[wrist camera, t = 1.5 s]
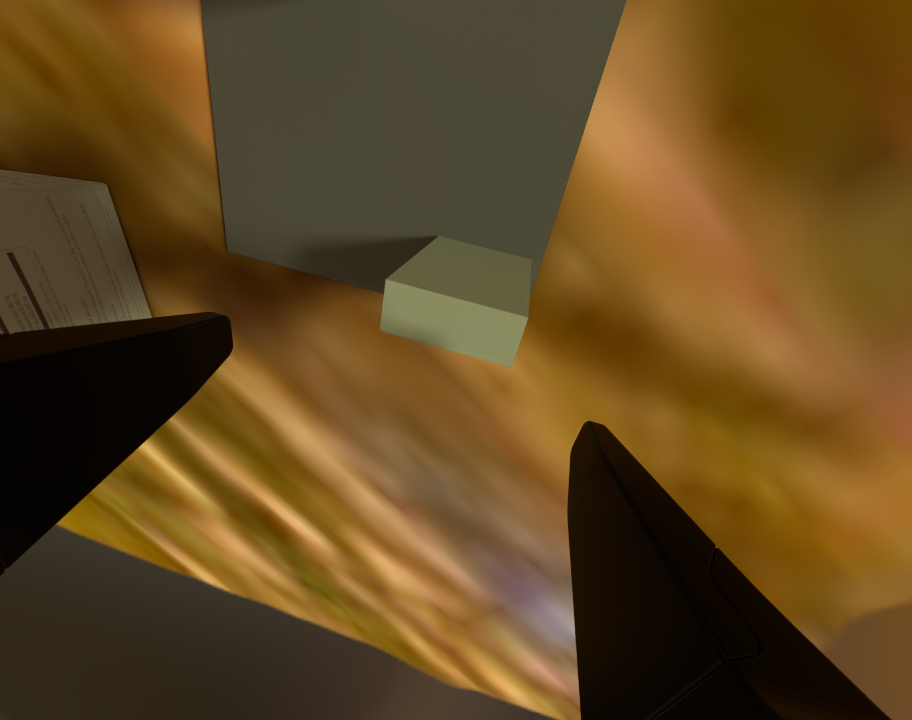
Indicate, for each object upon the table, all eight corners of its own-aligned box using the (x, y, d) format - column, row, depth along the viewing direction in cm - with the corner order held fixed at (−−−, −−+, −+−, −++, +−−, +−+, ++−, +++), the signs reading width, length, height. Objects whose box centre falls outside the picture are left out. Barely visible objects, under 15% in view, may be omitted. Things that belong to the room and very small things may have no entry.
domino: (531, 259, 19) (528, 317, 12) (520, 295, 20) (511, 367, 14) (439, 235, 20) (385, 279, 13) (432, 272, 21) (379, 330, 14)
